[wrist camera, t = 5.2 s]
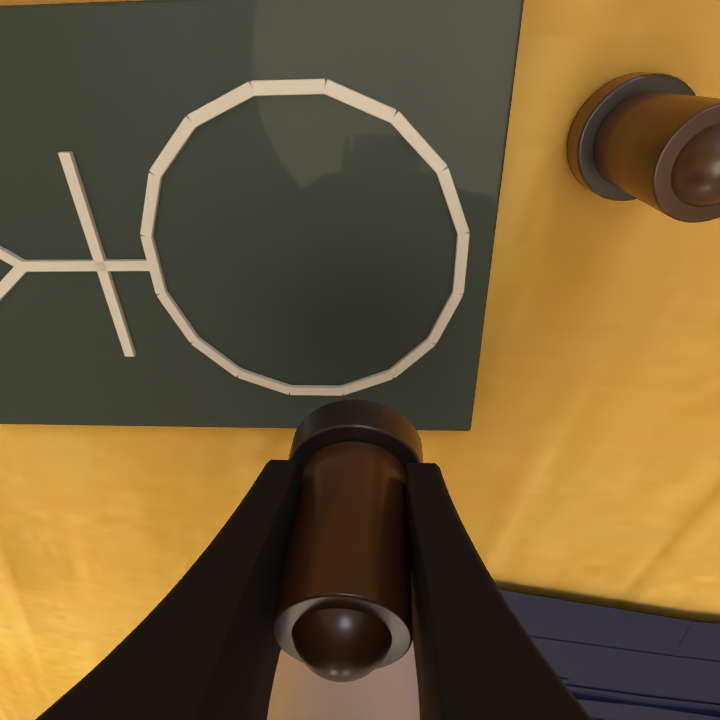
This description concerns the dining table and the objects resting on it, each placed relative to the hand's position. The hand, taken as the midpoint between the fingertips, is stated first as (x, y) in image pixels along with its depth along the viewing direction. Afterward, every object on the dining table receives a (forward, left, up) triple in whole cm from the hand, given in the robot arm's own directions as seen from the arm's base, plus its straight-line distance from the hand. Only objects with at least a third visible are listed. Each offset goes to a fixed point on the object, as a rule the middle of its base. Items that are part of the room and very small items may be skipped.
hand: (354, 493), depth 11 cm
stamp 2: (+10, 0, -8) cm, 13 cm away
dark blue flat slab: (-8, -34, -8) cm, 36 cm away
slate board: (-3, +6, -8) cm, 10 cm away
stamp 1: (0, 0, -1) cm, 1 cm away
